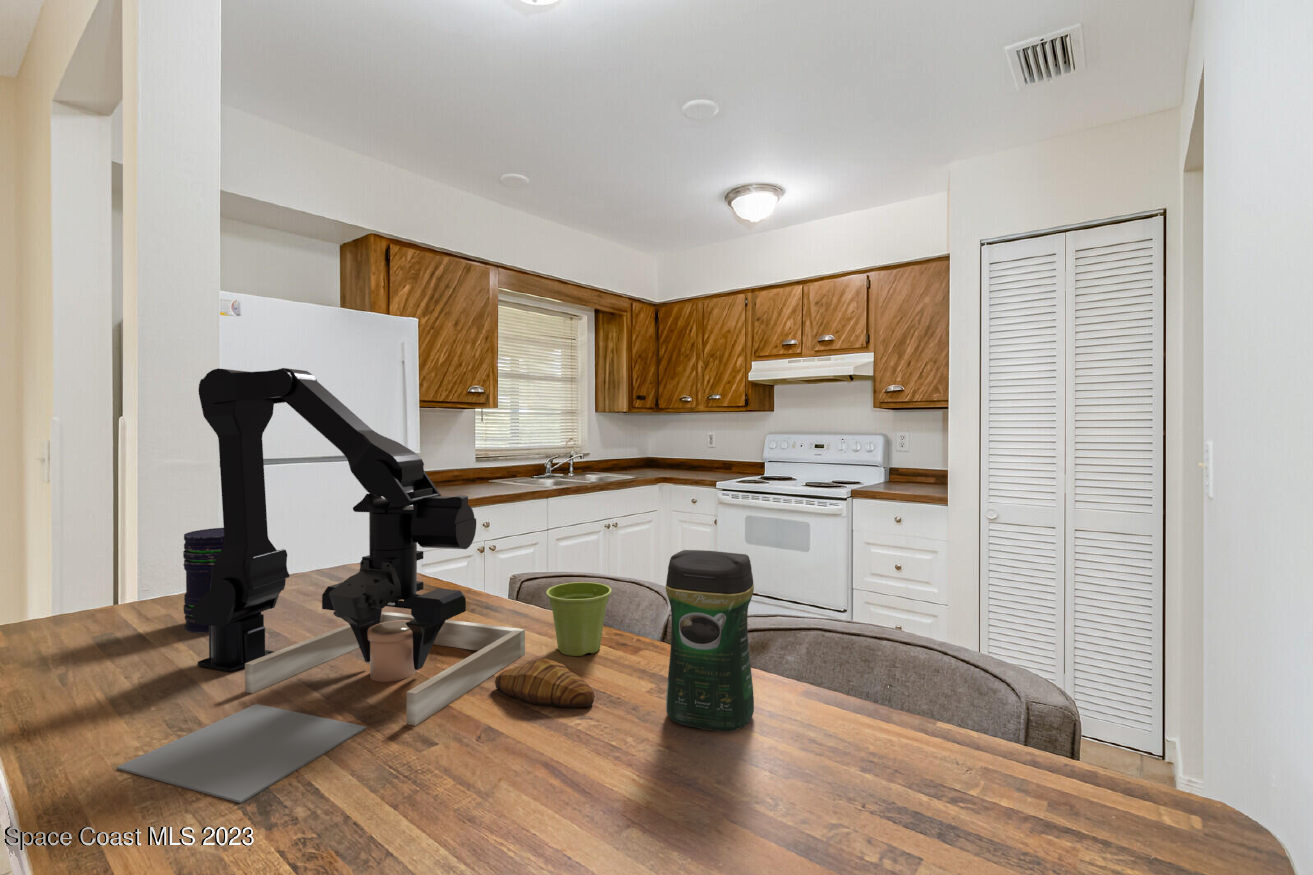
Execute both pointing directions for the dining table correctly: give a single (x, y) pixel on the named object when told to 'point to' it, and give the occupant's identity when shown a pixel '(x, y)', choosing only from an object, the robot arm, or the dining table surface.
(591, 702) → the croissant
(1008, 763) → the dining table surface
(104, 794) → the dining table surface
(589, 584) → the plant pot
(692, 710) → the coffee jar
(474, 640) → the metal u frame
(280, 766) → the grey mat
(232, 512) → the robot arm
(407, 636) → the pot
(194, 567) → the storage jar
